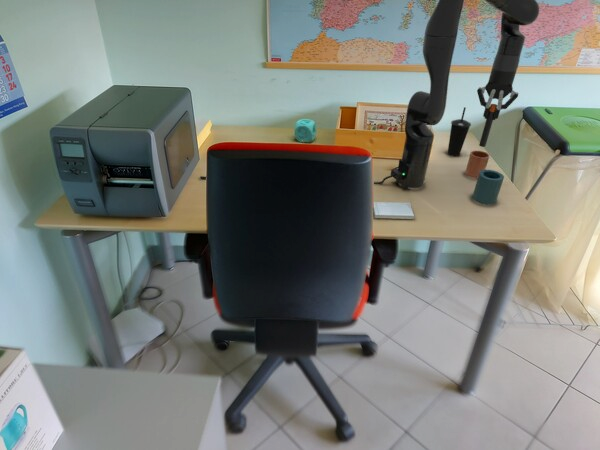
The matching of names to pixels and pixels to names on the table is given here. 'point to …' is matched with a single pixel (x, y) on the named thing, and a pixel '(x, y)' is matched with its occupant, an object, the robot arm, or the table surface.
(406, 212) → the hard drive
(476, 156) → the pen cup
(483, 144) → the marker
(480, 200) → the jar
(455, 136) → the drinking cup
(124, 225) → the table surface
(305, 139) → the decorative dice
